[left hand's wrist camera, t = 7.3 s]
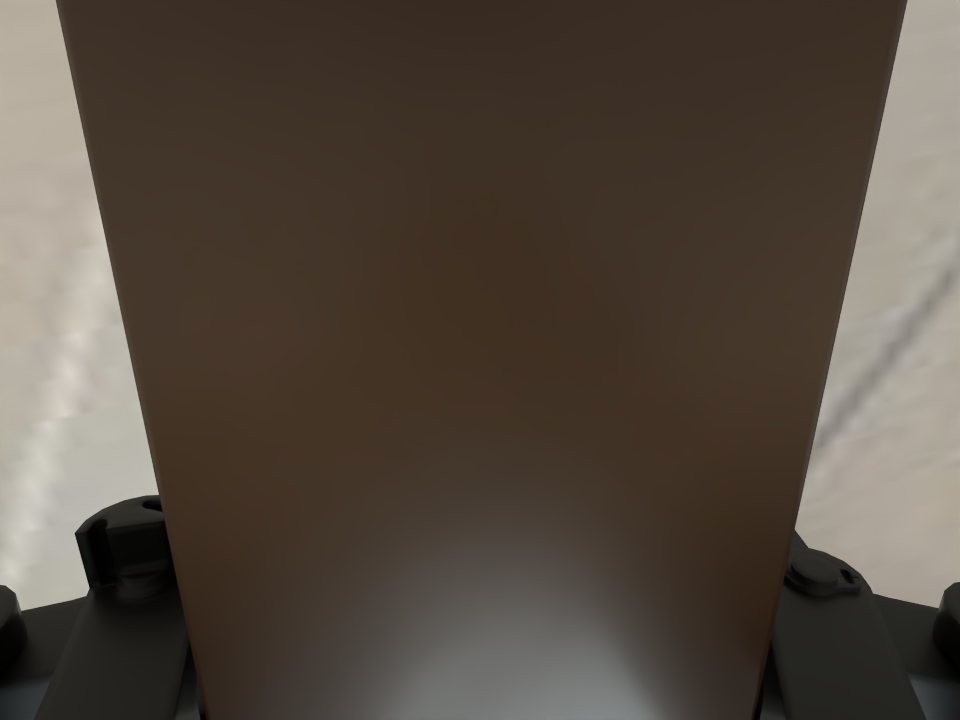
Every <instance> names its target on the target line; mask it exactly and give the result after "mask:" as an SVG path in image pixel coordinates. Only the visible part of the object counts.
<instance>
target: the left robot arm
mask: <svg viewBox="0 0 960 720" xmlns="http://www.w3.org/2000/svg"><path fill="white" fill-rule="evenodd" d="M75 536H76V540H77V543H78V547H79V551H80V554H81V558H82V562H83V565H84V569H85V573H86V576H87V580H88V584H89V587H90V589H89V591H88V594H87V596H85V597H82V598H78V599H75V600H71V601H66V602H62V603H57V604H52V605H48V606H43V607H38V608H34V609H29V610H24V611H21V609H20V606H19V603H18V600H17V597H16V594H15V593H14V592H13V591H12V590H10V589H9V588H8V587H7V586H4V585H0V720H206V717H205V712H204V707H203V702H202V697H201V693H200V688H199V683H198V678H197V673H196V669H195V664H194V659H193V654H192V650H191V645H190V640H189V635H188V630H187V626H186V621H185V616H184V611H183V606H182V602H181V597H180V592H179V587H178V583H177V578H176V573H175V568H174V563H173V559H172V554H171V549H170V544H169V539H168V535H167V530H166V525H165V520H164V516H163V511H162V506H161V501H160V496H159V495H149V496H142V497H137V498H133V499H128V500H124V501H122V502H119V503H117V504H114V505H112V506H109V507H107V508H104V509H102V510H101V511H99V512H98V513H96V514H95V515H93V516H92V517H90V518H89V519H87V520H85V522H84V523H83V524H82V525H81V526H80V528H79V529H78V530H77V531H76V532H75ZM754 720H960V582H956V583H954V584H952V585H951V586H950V587H948V588H947V589H946V590H945V591H944V594H943V597H942V600H941V603H940V606H939V608H935V607H930V606H925V605H920V604H916V603H911V602H906V601H902V600H897V599H892V598H888V597H884V596H881V595H877V594H873V593H872V590H871V588H870V586H869V585H868V584H867V582H866V581H865V579H864V578H863V577H862V575H861V574H860V573H859V572H857V571H856V570H855V569H853V568H852V567H851V566H850V565H848V564H847V563H846V562H844V561H842V560H840V559H838V558H836V557H834V556H831V555H829V554H827V553H825V552H822V551H818V550H814V549H810V548H808V547H807V545H806V544H805V543H804V541H803V540H802V539H801V537H800V536H799V535H798V533H797V532H796V531H795V529H794V534H793V539H792V543H791V548H790V553H789V557H788V562H787V567H786V571H785V576H784V581H783V585H782V590H781V595H780V599H779V604H778V609H777V613H776V618H775V623H774V628H773V632H772V637H771V642H770V646H769V651H768V656H767V660H766V665H765V670H764V674H763V679H762V684H761V688H760V693H759V698H758V703H757V707H756V712H755V717H754Z"/></svg>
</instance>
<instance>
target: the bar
mask: <svg viewBox="0 0 960 720" xmlns="http://www.w3.org/2000/svg"><path fill="white" fill-rule="evenodd" d="M56 3H57V8H58V13H59V18H60V22H61V27H62V32H63V37H64V42H65V46H66V51H67V56H68V61H69V66H70V70H71V75H72V80H73V85H74V89H75V94H76V99H77V104H78V109H79V113H80V118H81V123H82V128H83V133H84V137H85V142H86V147H87V152H88V156H89V161H90V166H91V171H92V176H93V180H94V185H95V190H96V195H97V200H98V204H99V209H100V214H101V219H102V224H103V228H104V233H105V238H106V243H107V247H108V252H109V257H110V262H111V267H112V271H113V276H114V281H115V286H116V291H117V295H118V300H119V305H120V310H121V314H122V319H123V324H124V329H125V334H126V338H127V343H128V348H129V353H130V358H131V362H132V367H133V372H134V377H135V381H136V386H137V391H138V396H139V401H140V405H141V410H142V415H143V420H144V425H145V429H146V434H147V439H148V444H149V448H150V453H151V458H152V463H153V468H154V472H155V477H156V482H157V487H158V492H159V496H160V501H161V506H162V511H163V516H164V520H165V525H166V530H167V535H168V539H169V544H170V549H171V554H172V559H173V563H174V568H175V573H176V578H177V583H178V587H179V592H180V597H181V602H182V606H183V611H184V616H185V621H186V626H187V630H188V635H189V640H190V645H191V650H192V654H193V659H194V664H195V669H196V673H197V678H198V683H199V688H200V693H201V697H202V702H203V707H204V712H205V717H206V720H754V717H755V712H756V707H757V703H758V698H759V693H760V688H761V684H762V679H763V674H764V670H765V665H766V660H767V656H768V651H769V646H770V642H771V637H772V632H773V628H774V623H775V618H776V613H777V609H778V604H779V599H780V595H781V590H782V585H783V581H784V576H785V571H786V567H787V562H788V557H789V553H790V548H791V543H792V539H793V534H794V529H795V524H796V520H797V515H798V510H799V506H800V501H801V496H802V492H803V487H804V482H805V478H806V473H807V468H808V464H809V459H810V454H811V449H812V445H813V440H814V435H815V431H816V426H817V421H818V417H819V412H820V407H821V403H822V398H823V393H824V389H825V384H826V379H827V374H828V370H829V365H830V360H831V356H832V351H833V346H834V342H835V337H836V332H837V328H838V323H839V318H840V314H841V309H842V304H843V299H844V295H845V290H846V285H847V281H848V276H849V271H850V267H851V262H852V257H853V253H854V248H855V243H856V239H857V234H858V229H859V224H860V220H861V215H862V210H863V206H864V201H865V196H866V192H867V187H868V182H869V178H870V173H871V168H872V164H873V159H874V154H875V149H876V145H877V140H878V135H879V131H880V126H881V121H882V117H883V112H884V107H885V103H886V98H887V93H888V89H889V84H890V79H891V75H892V70H893V65H894V60H895V56H896V51H897V46H898V42H899V37H900V32H901V28H902V23H903V18H904V14H905V9H906V4H907V0H56Z"/></svg>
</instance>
